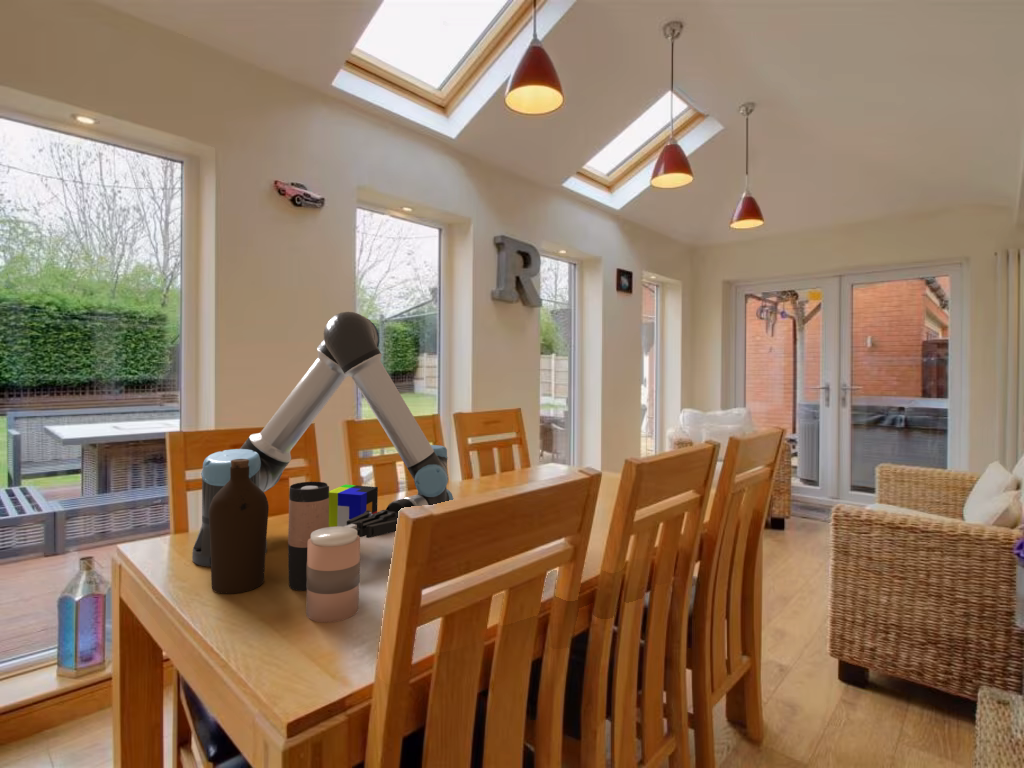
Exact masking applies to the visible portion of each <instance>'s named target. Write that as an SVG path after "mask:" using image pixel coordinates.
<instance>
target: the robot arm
mask: <svg viewBox="0 0 1024 768" xmlns="http://www.w3.org/2000/svg"><path fill="white" fill-rule="evenodd" d="M379 333H380V332H379V329H378V328H377V326H376V325H375V323H373V321H371V319H369V318H368V317H366V316H363V315H361V314H360V313H358V312H354V311H342V312H340V313H337V314H335V315H333V316H332V317H331V318H330V319H329V320H328V321H327V323H326V324H325V326H324V331H323V340H321V342H320V343H319V345H318V346H317V348H316V351H317V358H316V359H315V360H314V362H313V363H312V364H311V366H310V367H309V368H308V370H307V371H306V372H305V374H304V375H303V376H302V377H301V379H300V380H299V381H298V383H297V384H296V385H295V387H294V388H293V389H292V391H290V393H289V394H288V396H287V397H286V399H284V401H283V402H282V404H280V406H279V407H278V409H277V410H276V411H275V413H274V414H273V415H272V417H271V418H270V419H269V421H268V422H267V423H266V424H265V425H264V427H263V429H261V431H260V432H257V433H252V434H250V435H249V436H248V438H247V439H246V440H245V441H244V443H243V444H242V446H240V448H235V449H224V450H222V451H215V452H214V453H211V454H209V455H208V456H206V457H205V458H204V460H203V462H202V469H201V473H200V474H201V526H200V528H199V531H198V534H197V537H196V540H195V542H194V545H193V547H192V562H193V563H194V564H196V565H198V566H202V567H208V568H209V567H210V568H211V565H210V557H211V550H210V528H209V507H210V504H211V501H212V499H213V497H214V496H215V495H216V494H217V493H218V492H219V491H220V490H221V489H222V488H223V487H224V486H225V485H226V483H227V482H228V481H229V480H230V467H231V460H234V459H248V460H249V463H248V466H249V478H250V480H251V481H252V482H253V483H254V484H255V485H257V486H258V487H259V488H260V489H261V490H262V491H263V492H264V493H265V492H267V491H270V489H271V488H273V487H274V486H275V485H276V484H277V483H278V482H279V481H280V479H281V477H282V475H283V472H284V470H285V469H286V467H287V466H288V465H289V463H290V462H291V460H292V455H291V451H292V449H293V448H294V447H295V446H296V445H297V443H298V441H299V440H300V439H301V438H302V436H303V435H304V434H305V432H306V431H307V429H309V427H310V426H311V424H312V423H313V422H314V420H315V419H316V418H317V417H318V416H319V414H320V412H321V411H322V410H323V409H324V408H325V406H326V404H327V403H328V402H329V401H330V400H331V398H332V397H333V396H334V394H335V393H336V392H337V391H338V389H339V388H340V386H341V385H342V384H343V382H344V381H345V379H346V378H348V377H351V378H352V380H353V381H354V383H355V386H356V387H357V388H358V390H359V392H360V393H361V394H362V396H363V398H364V400H365V401H366V403H367V405H368V406H369V408H370V410H371V411H372V413H373V414H374V416H375V417H376V419H377V422H379V424H380V426H381V427H382V429H383V430H384V432H385V434H386V435H387V437H388V439H389V441H390V443H392V445H393V447H394V449H395V450H396V452H397V453H398V455H399V456H400V458H401V461H402V462H403V463H404V465H405V466H406V468H407V470H408V472H409V474H410V475H411V477H412V479H413V482H414V486H415V488H416V490H417V494H413V495H409V496H406V497H404V498H400V499H397V500H394V501H391V502H390V503H389V504H388V505H387V507H386V508H385V509H382V510H380V511H377V513H374V514H372V513H371V512H370V511H369V510H367V511H365V512H364V513H363V514H361V515H359V516H357V517H354V518H352V519H350V520H348V521H347V526H343V527H351V528H354V529H356V530H357V535H358V536H359V537H360V538H363V537H366V538H368V539H371V538H375V537H378V536H383V535H387V534H388V535H389V534H392V533H396V532H395V531H396V524H397V518H398V511H399V510H400V509H401V508H404V507H411V506H422V505H433V504H437V503H441V502H445V501H449V500H453V499H454V496H453V493H452V491H450V490H449V489H448V488H447V485H448V482H449V476H448V475H449V474H448V459H449V457H448V449H447V447H446V446H443V445H440V444H439V445H438V444H437V445H436V444H431V443H430V441H429V440H428V438H427V437H426V435H425V433H424V432H423V430H422V428H421V427H420V424H419V423H418V422H417V420H416V418H415V416H414V415H413V413H412V412H411V410H410V408H409V406H408V405H407V403H406V401H405V400H404V398H403V396H402V395H401V393H400V391H399V390H398V388H397V386H396V385H395V383H394V381H393V379H392V378H391V376H390V375H389V372H387V370H386V368H385V366H384V364H383V363H382V360H381V358H382V355H383V354H382V353H381V351H380V349H379V346H380V341H381V340H380V334H379ZM454 500H455V499H454ZM267 552H268V541H267V539H266V552H265V555H266V554H267Z"/></svg>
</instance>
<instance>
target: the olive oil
mask: <svg viewBox="0 0 1024 768" xmlns="http://www.w3.org/2000/svg"><path fill="white" fill-rule="evenodd" d="M248 463H249V460H248V459H234V460H231V467H230V480H229V481H228V482H227V483H226V485H225V486H224V487H223V488H222V489H221V490H220V491H219V492H218V493H217V494H216V495H215V496H214V497H213V499H212V501H211V504H210V507H209V528H210V550H211V557H210V565H211V567H210V572H211V573H210V575H211V576H210V577H211V579H210V581H211V589H212V591H213V592H215V593H218V594H227V595H228V594H230V595H231V594H233V595H234V594H240V593H246V592H249V591H252V590H255V589H257V588H259V587H260V586H261V585H262V584H263V583H264V582H265V571H266V570H265V569H266V554H265V552H266V540H267V535H268V534H267V533H268V521H269V507H270V506H269V501H268V497H267V496H266V494H265V492H263V491H262V490H261V489H260V488H259V487H258V486H257V485H255V484H254V483H253V482H252V481H251V480H250V478H249V466H248ZM266 553H267V552H266Z"/></svg>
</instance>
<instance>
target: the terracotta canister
mask: <svg viewBox="0 0 1024 768" xmlns="http://www.w3.org/2000/svg"><path fill="white" fill-rule="evenodd" d="M360 552H361V537H359V536H358V535H357V530H356V529H354V528H351V527H342V526H336V527H326V528H321V529H318V530H315V531H314V532H312V533H311V538H310V539H309V540H308V548H307V570H306V588H307V591H306V604H305V605H306V607H305V609H306V612H305V613H306V617H307V618H308V619H310V620H311V621H314V622H317V623H333V622H334V623H336V622H341V621H344V620H347V619H349V618H351V617H353V616H355V615H356V614H357V613H358V612H359V609H360V608H359V604H360V583H361V582H360V581H361V558H360V557H361V556H360V555H361V553H360Z"/></svg>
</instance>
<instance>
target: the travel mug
mask: <svg viewBox="0 0 1024 768" xmlns="http://www.w3.org/2000/svg"><path fill="white" fill-rule="evenodd" d="M329 491H330V486H329V485H328V483H327V482H324V481H303V482H296V483H293V484H291V485H290V486H289V495H288V497H289V501H288V532H287V533H288V535H287V536H288V537H287V538H288V539H287V554H288V555H287V556H288V559H287V560H288V562H287V563H288V586H289V589H291V590H293V591H294V590H295V591H301V592H305V591H306V592H307V588H306V570H307V548H308V540H309V539H310V538H311V533H312V532H314V531H315V530H318V529H321V528H326V527H329Z"/></svg>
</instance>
